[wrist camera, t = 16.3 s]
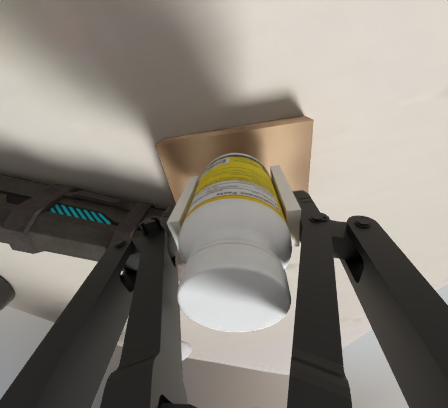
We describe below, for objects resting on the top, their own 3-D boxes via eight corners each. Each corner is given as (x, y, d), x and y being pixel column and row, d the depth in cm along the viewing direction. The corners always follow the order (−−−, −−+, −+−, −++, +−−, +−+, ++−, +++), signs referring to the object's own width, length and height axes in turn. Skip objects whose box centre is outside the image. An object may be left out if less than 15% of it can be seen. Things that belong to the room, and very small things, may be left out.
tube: (-20, 132, 24) (208, 201, 23) (14, 174, 28) (202, 232, 27) (-163, 186, 16) (168, 294, 15) (-84, 230, 21) (170, 314, 20)
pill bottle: (250, 220, 19) (262, 351, 10) (193, 198, 18) (144, 320, 9) (284, 168, 16) (349, 288, 7) (216, 137, 15) (179, 228, 6)
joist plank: (185, 203, 24) (179, 214, 22) (163, 138, 20) (155, 145, 17) (300, 190, 22) (307, 201, 20) (304, 115, 18) (313, 120, 15)
